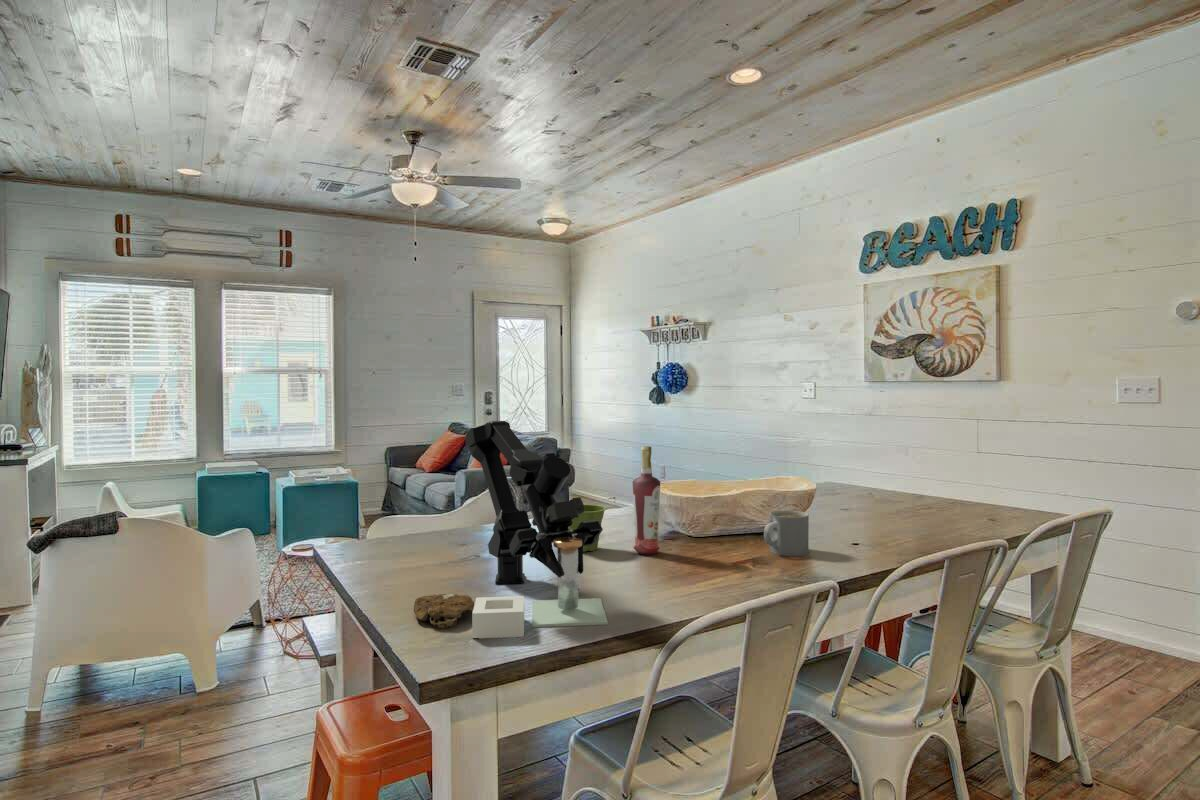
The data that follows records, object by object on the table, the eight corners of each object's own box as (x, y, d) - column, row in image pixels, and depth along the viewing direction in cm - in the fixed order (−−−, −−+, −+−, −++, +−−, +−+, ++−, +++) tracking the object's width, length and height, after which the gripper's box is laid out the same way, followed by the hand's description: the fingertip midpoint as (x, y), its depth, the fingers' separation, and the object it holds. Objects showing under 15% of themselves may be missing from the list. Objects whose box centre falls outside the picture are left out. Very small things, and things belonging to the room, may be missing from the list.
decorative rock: (485, 627, 130) (462, 607, 143) (486, 605, 130) (463, 587, 143) (424, 634, 124) (406, 612, 138) (425, 611, 125) (407, 592, 138)
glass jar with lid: (548, 604, 136) (548, 539, 136) (572, 599, 139) (572, 535, 139) (563, 612, 131) (562, 544, 131) (587, 607, 135) (587, 541, 134)
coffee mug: (793, 545, 190) (793, 509, 190) (816, 554, 180) (816, 515, 180) (751, 549, 185) (751, 512, 185) (772, 558, 176) (772, 519, 176)
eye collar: (476, 621, 131) (476, 597, 131) (524, 619, 132) (524, 595, 132) (472, 638, 122) (472, 613, 122) (523, 636, 123) (523, 611, 123)
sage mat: (532, 603, 142) (532, 600, 142) (600, 600, 143) (600, 598, 143) (532, 627, 128) (532, 624, 128) (607, 624, 129) (607, 621, 129)
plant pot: (606, 554, 181) (605, 511, 180) (560, 554, 181) (560, 511, 181) (606, 544, 193) (606, 503, 192) (564, 544, 193) (563, 503, 192)
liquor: (650, 557, 177) (650, 448, 176) (627, 553, 182) (626, 447, 181) (665, 552, 183) (665, 446, 182) (642, 548, 187) (642, 445, 187)
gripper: (515, 488, 133) (541, 558, 124) (597, 481, 143) (627, 545, 134) (498, 522, 140) (522, 590, 131) (578, 512, 150) (606, 575, 141)
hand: (571, 574), depth 134 cm, fingers closed on glass jar with lid, 4 cm apart
